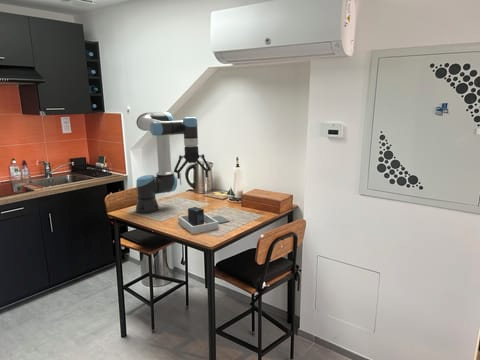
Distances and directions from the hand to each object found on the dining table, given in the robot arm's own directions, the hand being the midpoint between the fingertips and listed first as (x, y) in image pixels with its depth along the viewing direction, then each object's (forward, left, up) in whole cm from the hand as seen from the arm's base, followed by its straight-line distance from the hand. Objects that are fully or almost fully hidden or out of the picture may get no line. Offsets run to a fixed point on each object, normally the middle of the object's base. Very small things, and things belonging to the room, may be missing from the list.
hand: (193, 183), depth 194 cm
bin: (-3, +3, -26) cm, 27 cm away
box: (-3, +2, -26) cm, 27 cm away
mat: (-5, +17, -26) cm, 32 cm away
